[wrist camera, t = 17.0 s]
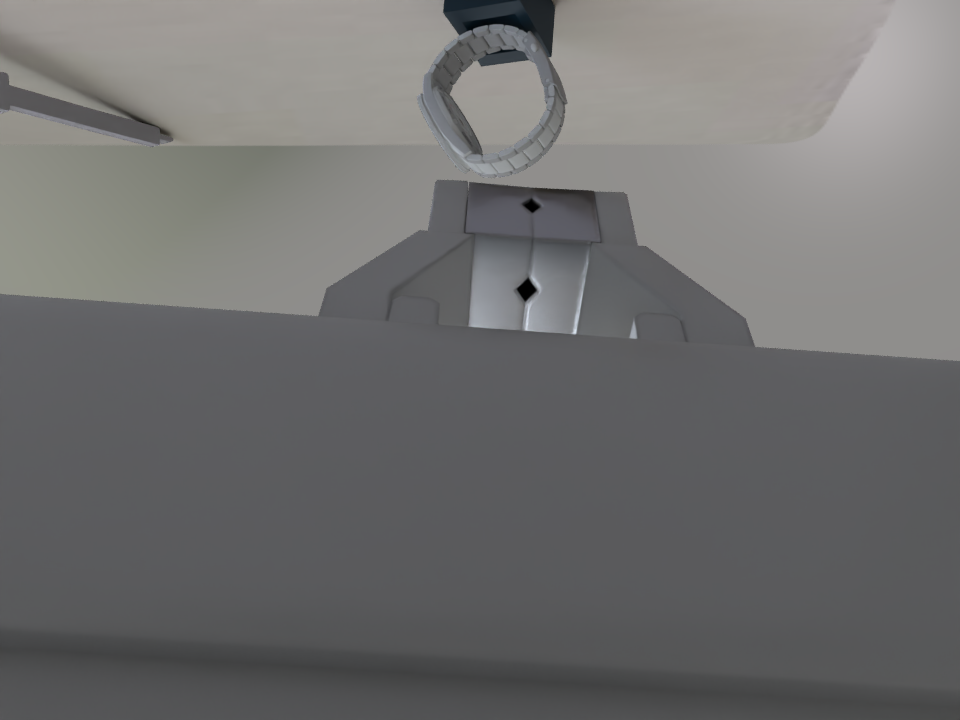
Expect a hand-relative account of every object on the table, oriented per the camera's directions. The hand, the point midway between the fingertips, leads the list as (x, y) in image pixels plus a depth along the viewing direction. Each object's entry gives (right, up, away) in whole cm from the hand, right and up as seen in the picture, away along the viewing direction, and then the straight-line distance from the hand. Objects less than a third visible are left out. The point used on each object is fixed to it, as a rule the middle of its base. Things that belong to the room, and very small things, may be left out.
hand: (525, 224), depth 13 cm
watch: (+1, +19, +34) cm, 39 cm away
